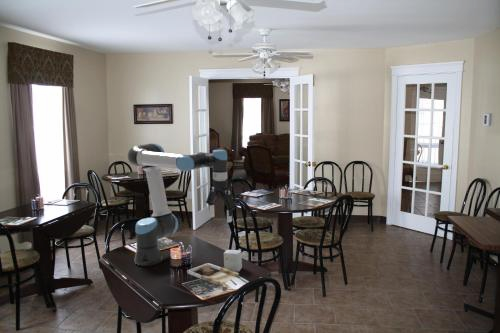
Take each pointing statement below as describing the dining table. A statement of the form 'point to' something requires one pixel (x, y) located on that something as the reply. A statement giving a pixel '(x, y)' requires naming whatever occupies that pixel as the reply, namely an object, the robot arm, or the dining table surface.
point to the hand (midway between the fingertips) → (220, 219)
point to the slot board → (220, 276)
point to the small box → (233, 260)
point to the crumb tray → (198, 269)
